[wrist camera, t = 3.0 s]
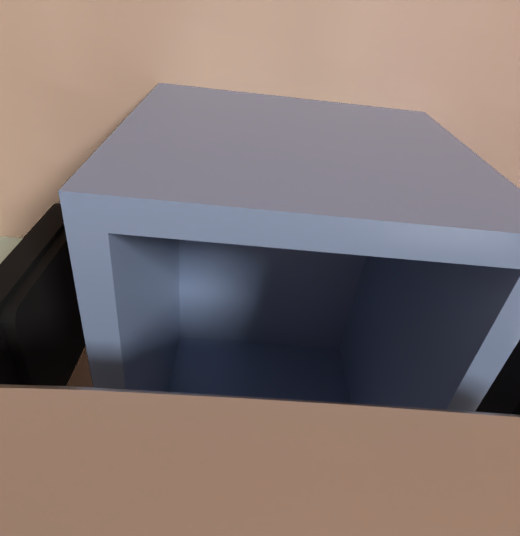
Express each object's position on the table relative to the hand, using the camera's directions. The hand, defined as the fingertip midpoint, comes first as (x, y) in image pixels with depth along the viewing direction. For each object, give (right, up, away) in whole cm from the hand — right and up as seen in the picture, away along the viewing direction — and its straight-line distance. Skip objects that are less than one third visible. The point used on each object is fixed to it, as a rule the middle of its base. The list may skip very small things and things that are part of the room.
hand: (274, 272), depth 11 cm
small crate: (0, +1, +1) cm, 2 cm away
